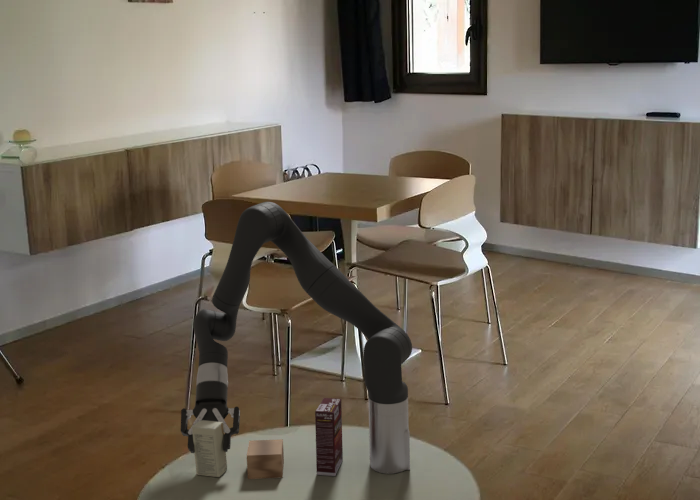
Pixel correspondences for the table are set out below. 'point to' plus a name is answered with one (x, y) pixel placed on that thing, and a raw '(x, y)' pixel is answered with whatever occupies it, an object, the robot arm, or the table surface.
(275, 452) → the brown wooden block
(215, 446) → the skincare box
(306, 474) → the table surface
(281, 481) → the table surface
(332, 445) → the supplement box
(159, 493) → the table surface
